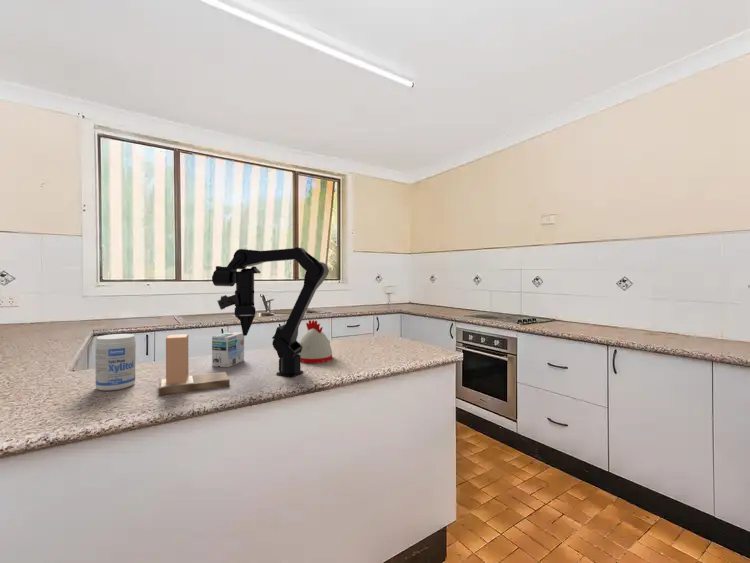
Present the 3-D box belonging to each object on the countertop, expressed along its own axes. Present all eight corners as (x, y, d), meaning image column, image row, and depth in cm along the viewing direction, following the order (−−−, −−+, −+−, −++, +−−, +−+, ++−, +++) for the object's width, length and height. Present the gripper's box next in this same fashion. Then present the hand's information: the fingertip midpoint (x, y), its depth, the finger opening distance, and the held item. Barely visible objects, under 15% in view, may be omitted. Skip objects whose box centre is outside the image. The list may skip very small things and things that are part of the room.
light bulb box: (228, 367, 128) (228, 337, 128) (211, 366, 130) (211, 336, 129) (245, 360, 139) (245, 332, 138) (228, 359, 140) (228, 331, 140)
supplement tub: (111, 393, 101) (111, 340, 100) (87, 389, 104) (86, 337, 103) (143, 383, 110) (143, 334, 110) (120, 379, 113) (119, 332, 113)
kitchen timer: (314, 353, 153) (314, 317, 152) (339, 358, 145) (339, 320, 144) (288, 359, 142) (288, 320, 141) (313, 365, 134) (314, 324, 133)
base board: (225, 378, 117) (225, 371, 116) (229, 386, 109) (229, 378, 109) (159, 386, 108) (159, 378, 108) (158, 395, 100) (158, 387, 100)
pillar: (188, 377, 109) (188, 334, 109) (186, 382, 104) (185, 337, 104) (169, 379, 107) (169, 334, 107) (166, 384, 103) (165, 338, 102)
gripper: (220, 285, 129) (220, 329, 130) (217, 288, 112) (217, 339, 112) (254, 285, 133) (253, 328, 133) (255, 288, 115) (255, 337, 116)
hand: (244, 333), depth 124 cm, fingers open, 9 cm apart
